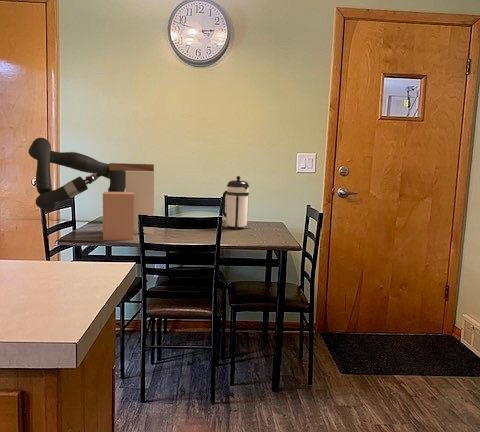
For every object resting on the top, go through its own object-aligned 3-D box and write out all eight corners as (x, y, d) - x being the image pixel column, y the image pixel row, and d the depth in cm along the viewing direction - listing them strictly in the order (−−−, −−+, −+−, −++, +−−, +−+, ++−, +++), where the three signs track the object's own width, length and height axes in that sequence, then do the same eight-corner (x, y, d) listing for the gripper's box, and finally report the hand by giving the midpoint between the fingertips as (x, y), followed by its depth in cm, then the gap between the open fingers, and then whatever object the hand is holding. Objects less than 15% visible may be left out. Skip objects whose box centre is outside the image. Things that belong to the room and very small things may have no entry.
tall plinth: (126, 230, 237) (126, 170, 232) (152, 230, 240) (153, 170, 235) (125, 233, 227) (125, 171, 222) (153, 233, 230) (154, 171, 225)
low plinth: (104, 236, 220) (104, 191, 217) (133, 235, 223) (133, 192, 220) (103, 240, 210) (102, 193, 207) (133, 239, 213) (133, 194, 210)
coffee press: (250, 226, 264) (252, 175, 260) (248, 231, 248) (250, 177, 244) (221, 224, 266) (223, 174, 261) (217, 229, 250) (219, 175, 246)
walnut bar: (109, 169, 227) (109, 163, 226) (153, 171, 232) (153, 164, 231) (109, 170, 224) (109, 163, 223) (153, 171, 229) (153, 164, 228)
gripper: (69, 181, 215) (99, 165, 217) (73, 179, 229) (101, 164, 231) (78, 195, 217) (107, 178, 219) (81, 192, 231) (109, 176, 233)
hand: (104, 171), depth 225 cm, fingers open, 8 cm apart
